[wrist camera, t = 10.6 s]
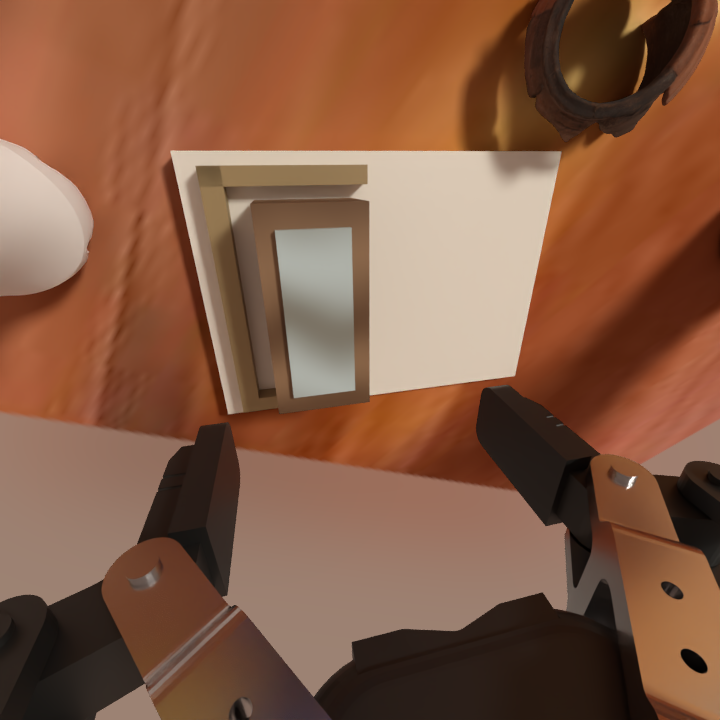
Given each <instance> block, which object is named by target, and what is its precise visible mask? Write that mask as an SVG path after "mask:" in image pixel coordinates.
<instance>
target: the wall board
mask: <svg viewBox="0 0 720 720" xmlns="http://www.w3.org/2000/svg"><path fill="white" fill-rule="evenodd" d="M561 152H562V151H171V156H172V160H173V165H174V169H175V174H176V178H177V183H178V187H179V192H180V197H181V201H182V206H183V210H184V215H185V219H186V224H187V228H188V233H189V238H190V242H191V247H192V251H193V256H194V260H195V265H196V269H197V274H198V279H199V283H200V288H201V292H202V297H203V301H204V306H205V310H206V315H207V320H208V324H209V329H210V333H211V338H212V342H213V347H214V351H215V356H216V360H217V365H218V370H219V374H220V379H221V383H222V388H223V392H224V397H225V401H226V406H227V411H228V414H234V413H241V412H252V411H259V410H267V409H274V408H278V402H277V394H276V387H275V380H274V373H273V366H272V358H271V351H270V344H269V337H268V330H267V323H266V315H265V308H264V301H263V294H262V287H261V279H260V272H259V265H258V258H257V251H256V244H255V236H254V229H253V222H252V215H251V208H250V204H251V203H252V202H253V201H254V200H280V199H324V198H355V199H360V200H366V201H369V353H370V395H376V394H384V393H391V392H398V391H406V390H413V389H421V388H428V387H436V386H443V385H451V384H458V383H466V382H473V381H481V380H488V379H496V378H503V377H511V376H515V373H516V368H517V363H518V358H519V354H520V349H521V344H522V339H523V334H524V330H525V325H526V320H527V315H528V310H529V306H530V301H531V296H532V291H533V286H534V282H535V277H536V272H537V267H538V262H539V258H540V253H541V248H542V243H543V238H544V234H545V229H546V224H547V219H548V214H549V210H550V205H551V200H552V195H553V190H554V186H555V181H556V176H557V171H558V166H559V162H560V157H561Z"/></svg>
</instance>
